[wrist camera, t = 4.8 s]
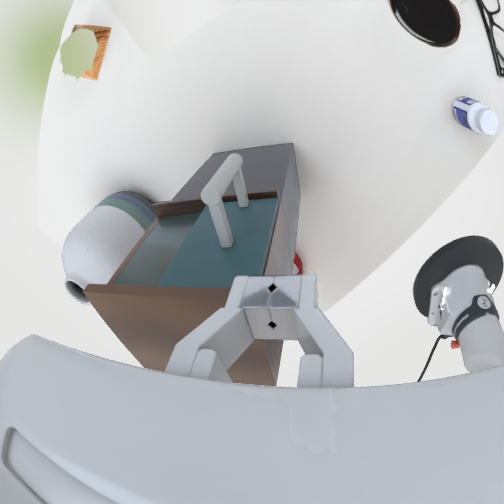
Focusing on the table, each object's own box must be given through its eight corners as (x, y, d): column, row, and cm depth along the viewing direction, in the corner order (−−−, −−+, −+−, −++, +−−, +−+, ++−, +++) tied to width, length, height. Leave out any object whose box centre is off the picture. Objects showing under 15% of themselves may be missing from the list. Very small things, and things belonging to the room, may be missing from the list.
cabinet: (300, 195, 49) (276, 386, 22) (226, 202, 53) (144, 368, 26) (291, 133, 42) (249, 299, 15) (211, 145, 46) (82, 291, 19)
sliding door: (279, 204, 26) (257, 298, 17) (208, 210, 28) (159, 295, 19) (268, 146, 23) (235, 217, 14) (192, 158, 25) (124, 228, 16)
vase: (116, 170, 52) (39, 237, 34) (181, 208, 55) (122, 293, 37) (104, 224, 63) (47, 291, 44) (159, 257, 66) (112, 335, 48)
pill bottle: (468, 129, 33) (494, 146, 26) (447, 115, 33) (472, 129, 26) (478, 105, 29) (505, 118, 23) (457, 90, 29) (484, 99, 23)
